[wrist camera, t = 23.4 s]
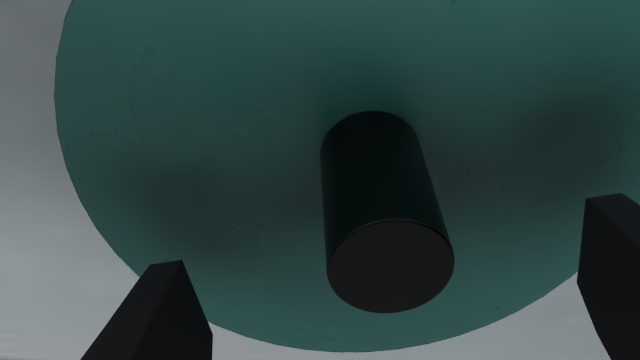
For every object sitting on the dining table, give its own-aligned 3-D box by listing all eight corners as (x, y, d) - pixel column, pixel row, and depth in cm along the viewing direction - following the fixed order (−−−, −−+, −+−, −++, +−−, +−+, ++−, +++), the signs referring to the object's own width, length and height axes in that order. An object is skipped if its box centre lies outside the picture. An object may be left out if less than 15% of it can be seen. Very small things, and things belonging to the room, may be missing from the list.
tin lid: (-19, 191, 16) (-128, 344, 12) (286, -426, 10) (278, -567, 5) (401, 380, 21) (426, 532, 17) (785, 64, 15) (979, 186, 11)
